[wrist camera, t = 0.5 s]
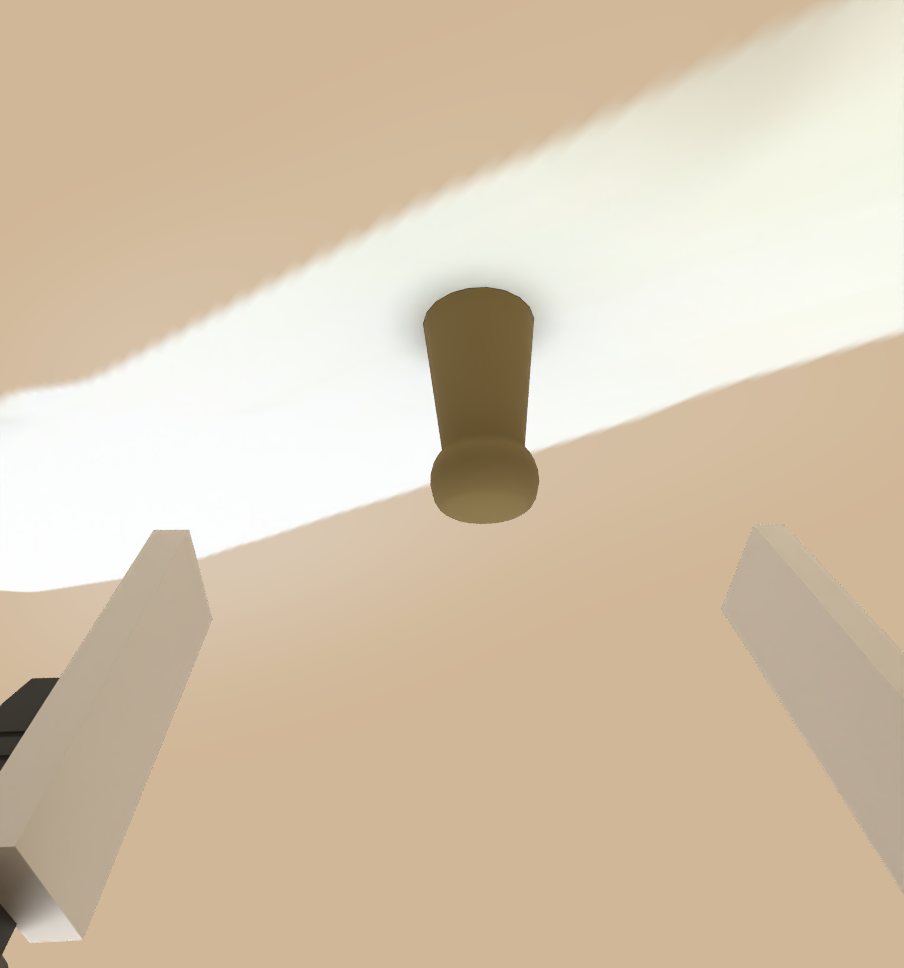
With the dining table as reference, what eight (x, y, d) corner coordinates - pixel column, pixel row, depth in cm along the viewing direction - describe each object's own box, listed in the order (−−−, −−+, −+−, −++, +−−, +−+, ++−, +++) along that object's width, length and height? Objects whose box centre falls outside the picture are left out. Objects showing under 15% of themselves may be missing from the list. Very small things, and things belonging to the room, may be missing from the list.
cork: (557, 322, 31) (577, 512, 27) (479, 371, 35) (486, 542, 31) (476, 268, 27) (485, 479, 23) (400, 330, 31) (395, 518, 27)
